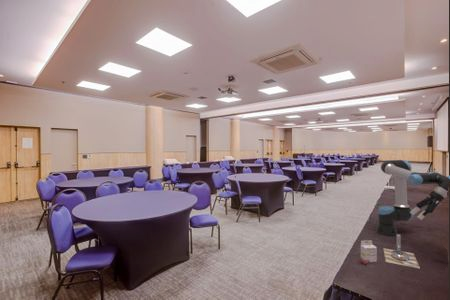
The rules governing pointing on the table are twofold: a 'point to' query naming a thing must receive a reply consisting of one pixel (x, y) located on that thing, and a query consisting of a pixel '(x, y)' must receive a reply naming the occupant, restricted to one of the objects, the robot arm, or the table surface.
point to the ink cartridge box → (368, 252)
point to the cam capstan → (399, 251)
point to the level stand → (411, 262)
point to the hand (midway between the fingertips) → (415, 216)
